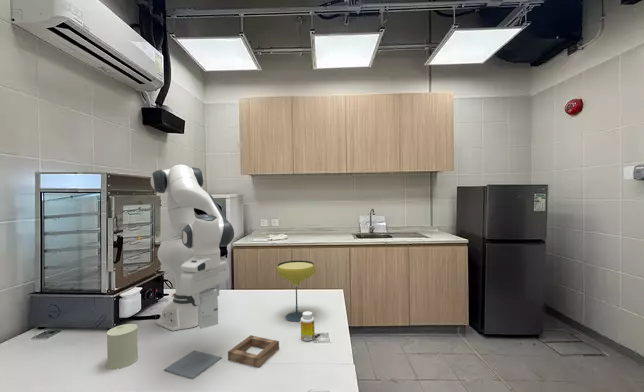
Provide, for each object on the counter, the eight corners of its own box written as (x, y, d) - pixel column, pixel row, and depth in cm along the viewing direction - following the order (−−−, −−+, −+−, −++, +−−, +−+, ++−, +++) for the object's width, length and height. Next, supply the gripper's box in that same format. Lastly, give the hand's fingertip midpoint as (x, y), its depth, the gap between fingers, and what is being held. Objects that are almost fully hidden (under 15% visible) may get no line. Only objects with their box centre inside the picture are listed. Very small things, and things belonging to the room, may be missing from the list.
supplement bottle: (314, 341, 117) (314, 315, 117) (300, 342, 117) (300, 316, 117) (314, 334, 122) (313, 310, 122) (300, 335, 122) (300, 310, 122)
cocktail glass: (291, 329, 128) (290, 271, 128) (270, 316, 142) (269, 264, 142) (323, 317, 139) (322, 264, 139) (301, 306, 153) (300, 258, 153)
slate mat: (163, 370, 99) (163, 369, 99) (194, 351, 111) (194, 350, 111) (192, 379, 94) (192, 378, 94) (221, 358, 106) (221, 357, 106)
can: (132, 351, 111) (132, 320, 111) (142, 360, 105) (141, 326, 105) (103, 363, 104) (102, 329, 104) (111, 372, 98) (111, 336, 98)
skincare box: (200, 329, 101) (199, 294, 100) (197, 324, 104) (196, 290, 104) (219, 324, 104) (217, 290, 104) (215, 319, 108) (214, 287, 107)
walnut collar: (228, 360, 105) (227, 351, 105) (250, 342, 117) (250, 335, 117) (258, 367, 100) (258, 358, 100) (278, 349, 111) (278, 341, 111)
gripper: (220, 254, 115) (220, 289, 115) (176, 267, 96) (177, 309, 96) (233, 255, 112) (234, 291, 112) (191, 268, 93) (191, 312, 93)
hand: (207, 300), depth 104 cm, fingers closed on skincare box, 7 cm apart
